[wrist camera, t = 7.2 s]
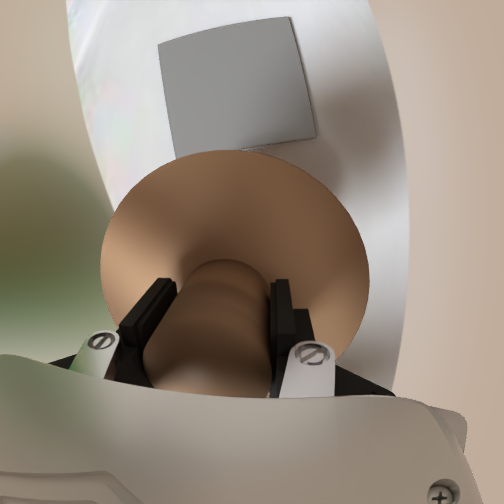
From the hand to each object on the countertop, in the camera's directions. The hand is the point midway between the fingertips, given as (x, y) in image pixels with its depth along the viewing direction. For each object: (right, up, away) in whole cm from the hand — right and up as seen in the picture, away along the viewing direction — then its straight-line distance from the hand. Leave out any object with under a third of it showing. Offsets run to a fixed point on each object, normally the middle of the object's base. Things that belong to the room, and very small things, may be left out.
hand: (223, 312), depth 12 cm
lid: (0, +1, +2) cm, 2 cm away
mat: (-1, +19, +13) cm, 23 cm away
